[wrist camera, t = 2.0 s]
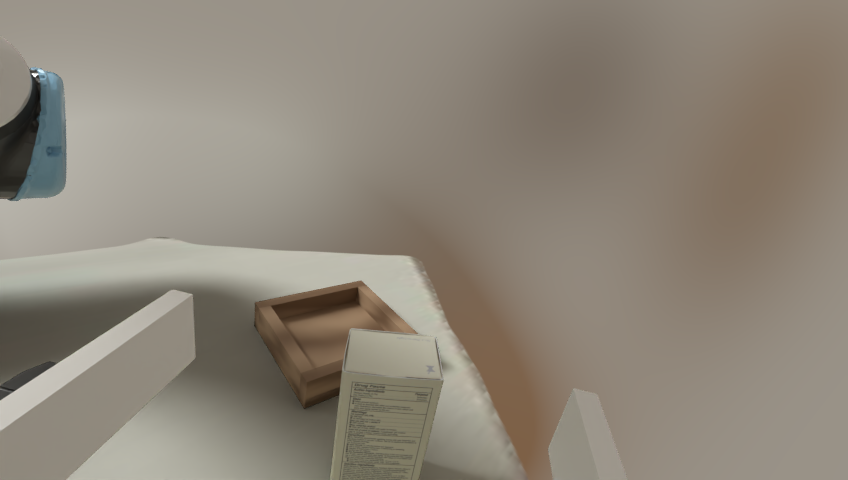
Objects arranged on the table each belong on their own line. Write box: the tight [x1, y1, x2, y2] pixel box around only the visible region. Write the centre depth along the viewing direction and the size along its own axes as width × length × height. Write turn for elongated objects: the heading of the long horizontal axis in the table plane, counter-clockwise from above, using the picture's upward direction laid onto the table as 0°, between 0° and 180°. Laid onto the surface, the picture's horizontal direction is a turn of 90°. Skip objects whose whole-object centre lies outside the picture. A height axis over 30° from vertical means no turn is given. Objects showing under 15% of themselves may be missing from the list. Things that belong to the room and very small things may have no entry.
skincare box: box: [330, 328, 444, 480], centre depth 28 cm, size 6×4×12 cm
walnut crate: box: [254, 281, 418, 408], centre depth 43 cm, size 13×13×3 cm
